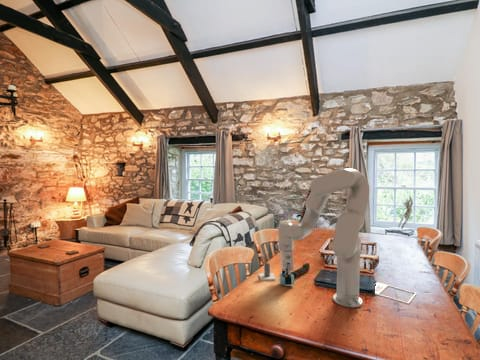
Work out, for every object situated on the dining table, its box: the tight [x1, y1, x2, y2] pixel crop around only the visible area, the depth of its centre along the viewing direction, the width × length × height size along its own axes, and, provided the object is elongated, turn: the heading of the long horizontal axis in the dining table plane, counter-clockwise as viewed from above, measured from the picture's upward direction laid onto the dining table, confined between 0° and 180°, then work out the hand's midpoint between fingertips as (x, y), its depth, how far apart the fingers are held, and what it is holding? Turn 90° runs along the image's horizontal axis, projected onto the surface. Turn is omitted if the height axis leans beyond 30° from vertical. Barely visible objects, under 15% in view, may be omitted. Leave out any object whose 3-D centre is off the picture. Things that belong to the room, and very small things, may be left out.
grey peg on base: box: [258, 262, 276, 282], centre depth 156 cm, size 8×8×8 cm
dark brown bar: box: [291, 262, 310, 280], centre depth 161 cm, size 19×4×5 cm, turn 137°
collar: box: [278, 272, 295, 287], centre depth 146 cm, size 7×7×4 cm
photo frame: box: [374, 281, 418, 305], centre depth 138 cm, size 15×1×18 cm
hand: (286, 281), depth 146 cm, fingers closed on collar, 7 cm apart
